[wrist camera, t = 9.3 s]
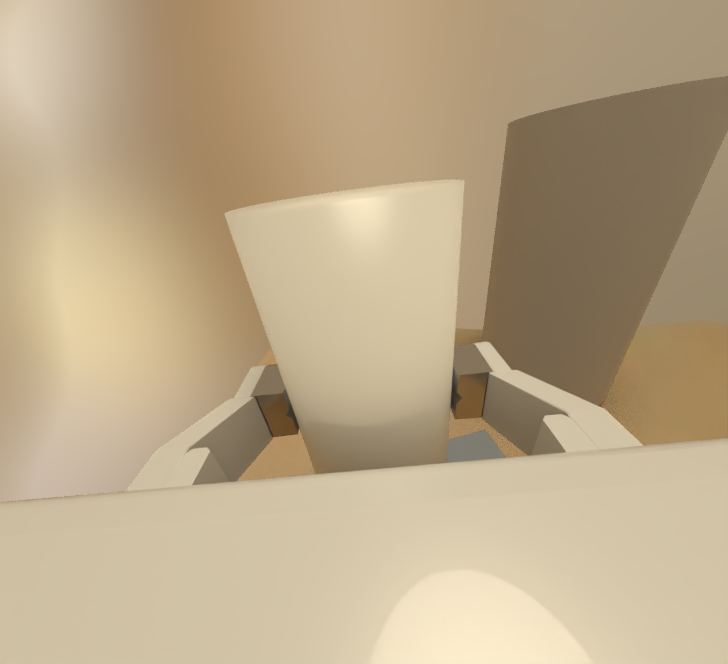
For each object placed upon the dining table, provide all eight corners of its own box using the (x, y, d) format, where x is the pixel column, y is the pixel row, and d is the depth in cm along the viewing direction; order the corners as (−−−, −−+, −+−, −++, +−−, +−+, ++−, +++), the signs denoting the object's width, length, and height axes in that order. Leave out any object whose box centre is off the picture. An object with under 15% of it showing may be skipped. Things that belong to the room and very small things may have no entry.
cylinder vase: (637, 416, 26) (840, 58, 13) (501, 422, 27) (565, 100, 14) (561, 344, 36) (631, 110, 24) (466, 351, 38) (485, 131, 25)
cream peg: (457, 581, 11) (518, 181, 4) (334, 590, 11) (165, 228, 4) (417, 416, 18) (410, 177, 11) (343, 423, 18) (291, 194, 11)
